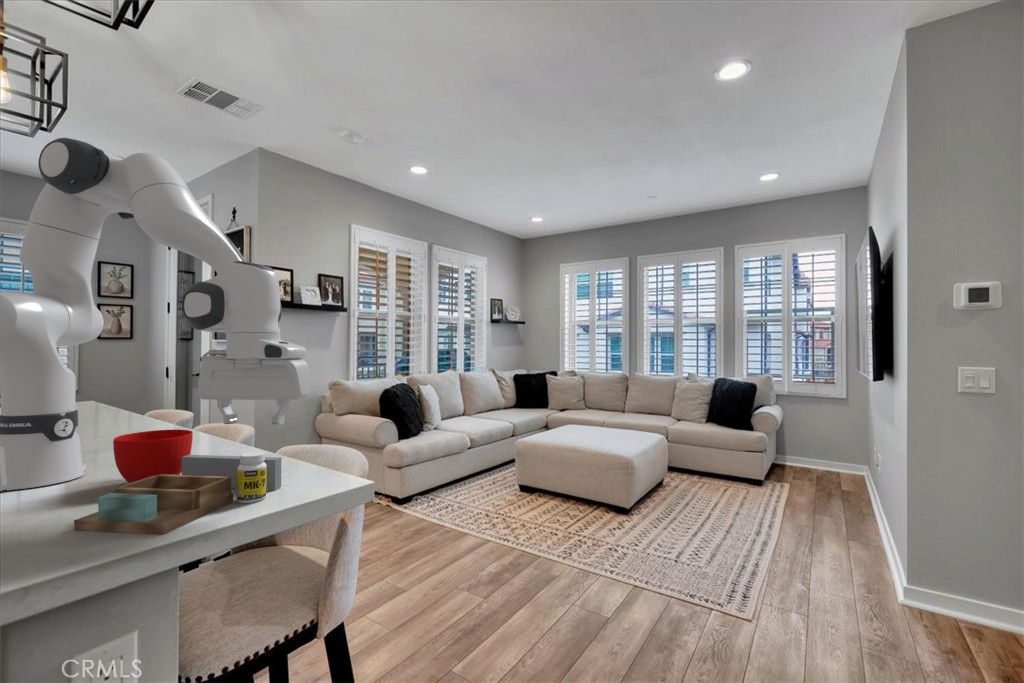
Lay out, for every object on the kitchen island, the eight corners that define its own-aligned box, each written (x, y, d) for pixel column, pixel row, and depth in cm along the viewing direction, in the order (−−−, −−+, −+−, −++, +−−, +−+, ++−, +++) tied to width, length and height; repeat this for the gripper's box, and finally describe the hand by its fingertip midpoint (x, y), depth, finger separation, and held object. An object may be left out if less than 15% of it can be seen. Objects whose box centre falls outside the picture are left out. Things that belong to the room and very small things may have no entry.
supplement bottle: (241, 505, 83) (242, 458, 83) (232, 499, 86) (233, 454, 86) (270, 499, 87) (270, 453, 87) (260, 493, 90) (261, 449, 90)
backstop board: (181, 486, 94) (181, 456, 94) (189, 484, 96) (189, 454, 96) (275, 490, 92) (275, 459, 92) (281, 487, 94) (281, 457, 94)
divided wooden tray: (74, 529, 72) (74, 497, 72) (158, 498, 87) (158, 471, 87) (163, 534, 70) (163, 500, 70) (233, 501, 85) (233, 474, 85)
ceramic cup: (175, 469, 108) (175, 425, 108) (201, 482, 97) (201, 434, 97) (101, 481, 98) (102, 433, 98) (121, 498, 87) (122, 444, 87)
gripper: (188, 349, 85) (188, 426, 85) (295, 348, 83) (295, 427, 82) (214, 349, 91) (214, 420, 91) (314, 348, 89) (314, 421, 89)
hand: (254, 424), depth 87 cm, fingers open, 8 cm apart
